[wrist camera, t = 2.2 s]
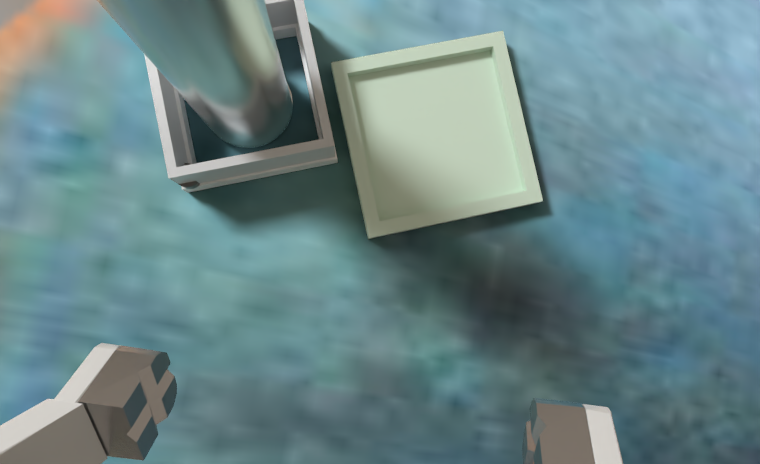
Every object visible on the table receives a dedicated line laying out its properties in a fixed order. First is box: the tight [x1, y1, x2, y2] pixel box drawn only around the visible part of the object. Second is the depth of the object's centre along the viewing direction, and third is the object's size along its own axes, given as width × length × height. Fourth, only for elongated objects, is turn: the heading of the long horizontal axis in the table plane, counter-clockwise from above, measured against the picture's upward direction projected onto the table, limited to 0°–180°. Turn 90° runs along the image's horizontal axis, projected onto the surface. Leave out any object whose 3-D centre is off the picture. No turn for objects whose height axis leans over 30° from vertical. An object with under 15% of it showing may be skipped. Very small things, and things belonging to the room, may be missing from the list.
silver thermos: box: [97, 0, 293, 148], centre depth 29 cm, size 6×6×25 cm
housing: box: [144, 0, 338, 193], centre depth 39 cm, size 11×11×5 cm
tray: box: [331, 31, 543, 239], centre depth 41 cm, size 13×13×1 cm
